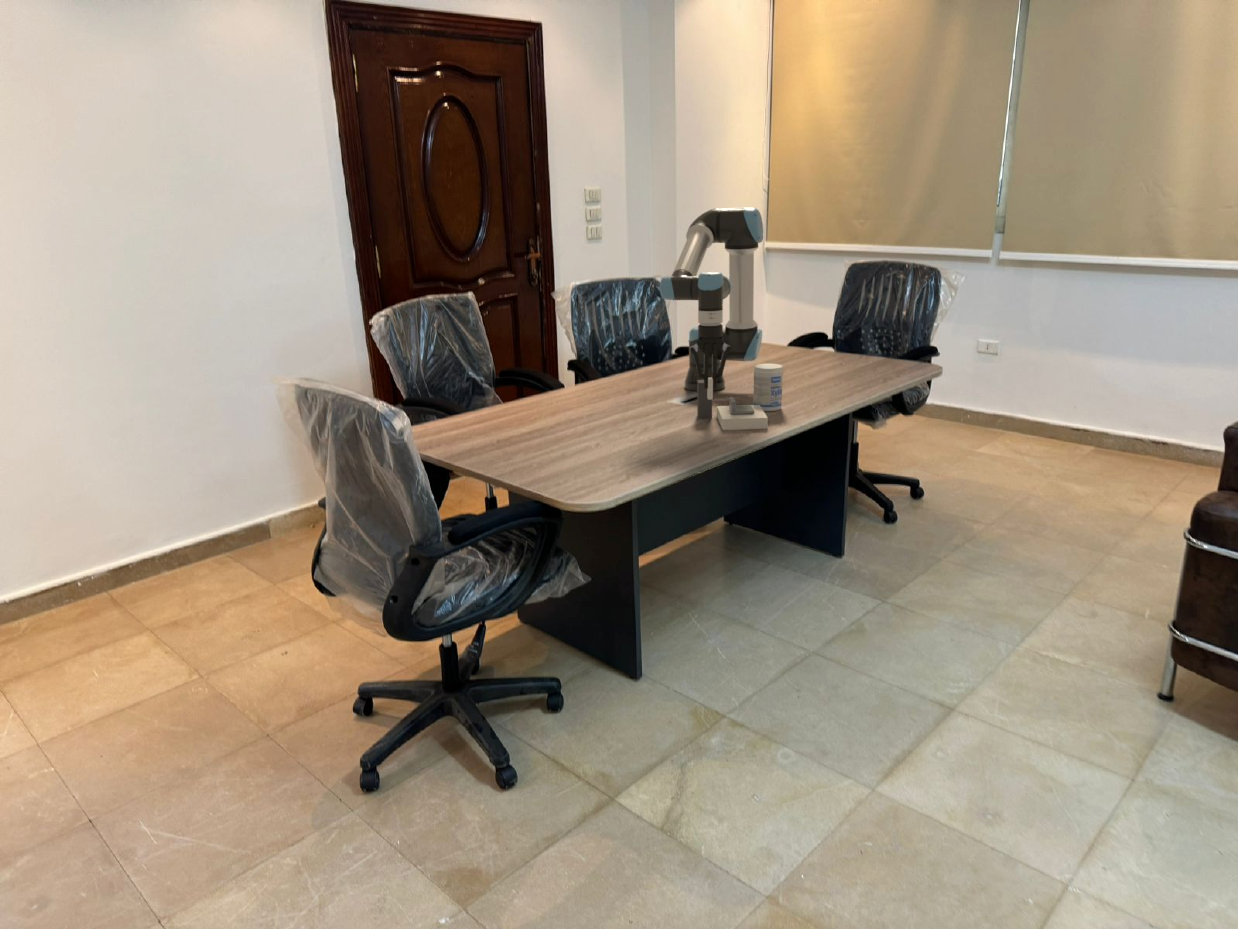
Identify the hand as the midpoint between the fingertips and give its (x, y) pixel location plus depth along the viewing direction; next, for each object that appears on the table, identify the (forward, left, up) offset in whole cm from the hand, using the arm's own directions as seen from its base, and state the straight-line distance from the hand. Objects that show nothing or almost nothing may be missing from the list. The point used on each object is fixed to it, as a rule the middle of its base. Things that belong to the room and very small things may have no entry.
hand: (710, 398), depth 258 cm
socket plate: (0, +10, -8) cm, 13 cm away
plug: (-8, -1, -8) cm, 12 cm away
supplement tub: (-16, +21, -9) cm, 28 cm away
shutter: (0, +10, -5) cm, 11 cm away
